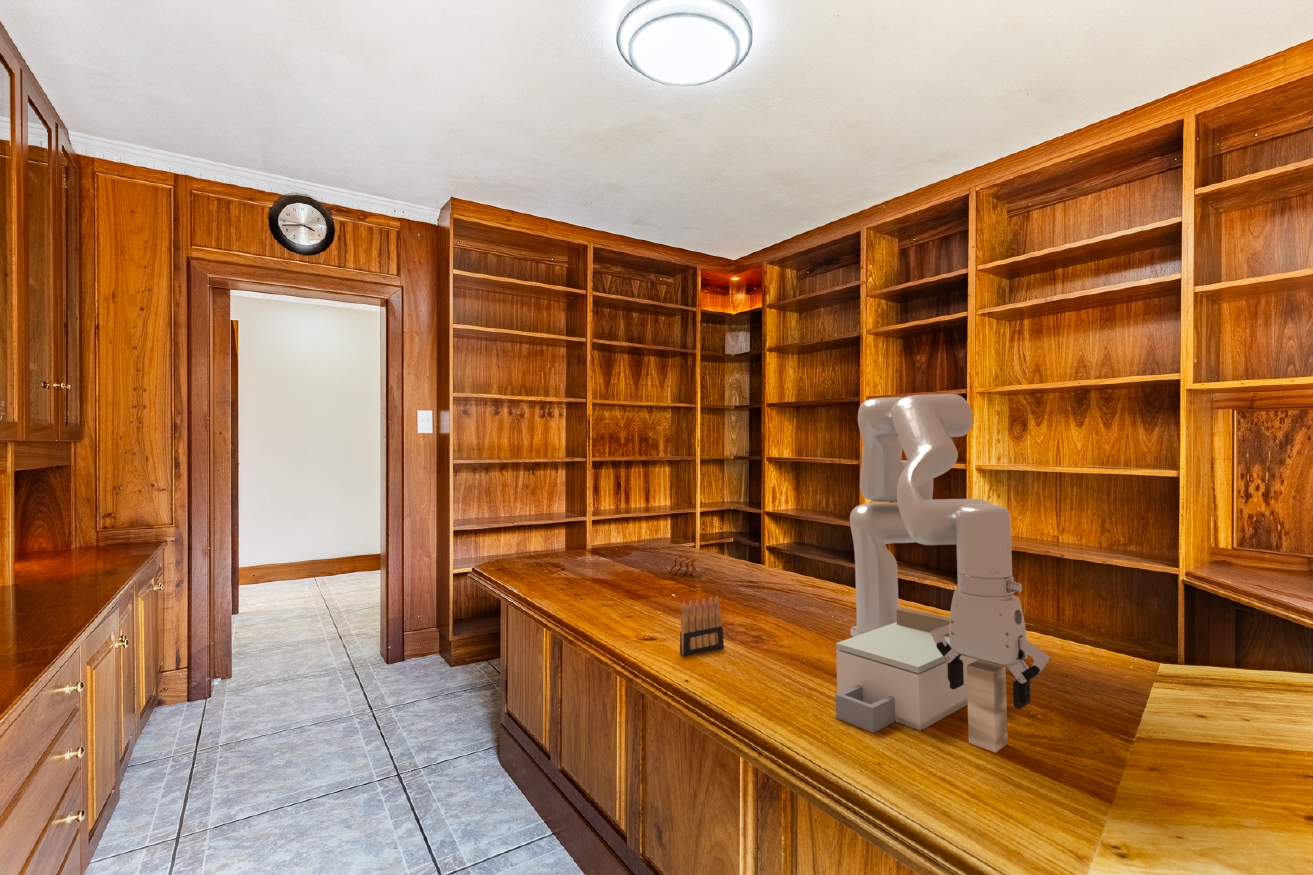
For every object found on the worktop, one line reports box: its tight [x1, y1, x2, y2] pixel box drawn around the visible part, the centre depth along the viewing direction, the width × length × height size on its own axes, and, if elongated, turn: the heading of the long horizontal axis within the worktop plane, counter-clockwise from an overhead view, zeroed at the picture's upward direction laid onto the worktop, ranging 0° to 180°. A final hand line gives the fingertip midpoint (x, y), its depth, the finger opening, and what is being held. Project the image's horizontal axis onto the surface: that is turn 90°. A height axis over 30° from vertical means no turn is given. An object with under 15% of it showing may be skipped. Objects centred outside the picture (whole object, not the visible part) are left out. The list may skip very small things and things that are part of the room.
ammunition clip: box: [679, 595, 725, 657], centre depth 142 cm, size 11×2×12 cm, turn 118°
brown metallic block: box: [967, 660, 1009, 754], centre depth 97 cm, size 4×4×12 cm
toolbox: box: [834, 649, 978, 734], centre depth 112 cm, size 26×16×9 cm, turn 127°
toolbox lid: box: [835, 607, 950, 673], centre depth 114 cm, size 20×16×4 cm
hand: (987, 696), depth 97 cm, fingers open, 9 cm apart
